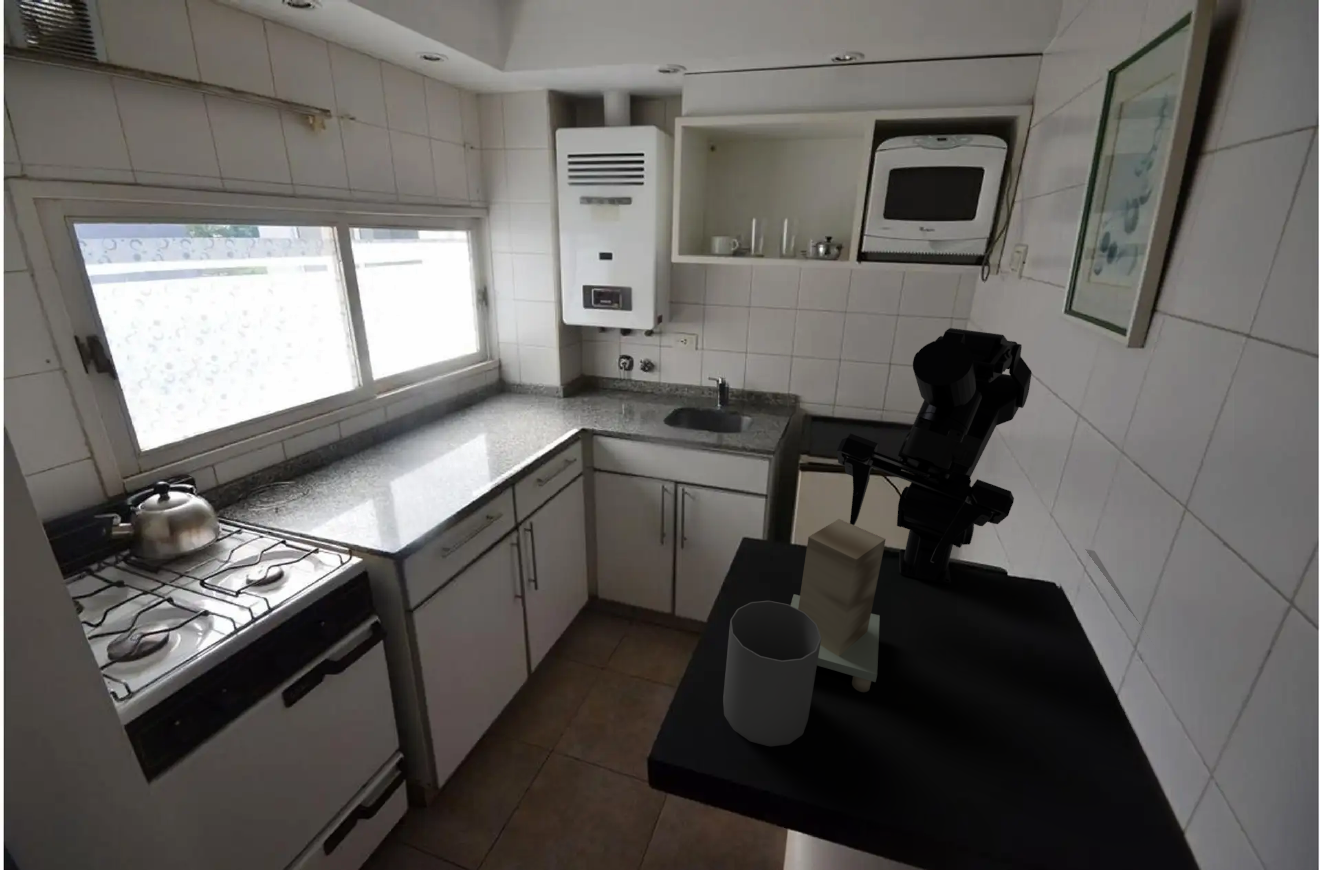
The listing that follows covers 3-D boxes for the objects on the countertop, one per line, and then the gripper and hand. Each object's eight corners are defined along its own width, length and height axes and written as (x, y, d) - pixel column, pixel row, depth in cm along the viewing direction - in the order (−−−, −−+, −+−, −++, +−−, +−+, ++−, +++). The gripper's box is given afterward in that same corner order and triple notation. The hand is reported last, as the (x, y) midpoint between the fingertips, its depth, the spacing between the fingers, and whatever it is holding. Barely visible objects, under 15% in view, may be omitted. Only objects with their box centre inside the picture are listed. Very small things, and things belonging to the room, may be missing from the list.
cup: (715, 732, 53) (723, 648, 50) (729, 670, 61) (736, 594, 57) (806, 755, 51) (820, 670, 48) (809, 688, 59) (821, 610, 55)
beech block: (824, 607, 67) (838, 518, 62) (867, 631, 63) (885, 538, 59) (795, 629, 63) (808, 536, 59) (838, 656, 59) (856, 559, 55)
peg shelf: (790, 614, 70) (793, 594, 69) (875, 636, 67) (879, 615, 66) (776, 668, 61) (778, 646, 60) (872, 697, 58) (877, 674, 57)
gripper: (864, 371, 63) (807, 495, 61) (1050, 429, 55) (994, 574, 53) (863, 408, 73) (814, 515, 71) (1022, 461, 65) (973, 584, 63)
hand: (890, 543), depth 64 cm, fingers open, 9 cm apart
